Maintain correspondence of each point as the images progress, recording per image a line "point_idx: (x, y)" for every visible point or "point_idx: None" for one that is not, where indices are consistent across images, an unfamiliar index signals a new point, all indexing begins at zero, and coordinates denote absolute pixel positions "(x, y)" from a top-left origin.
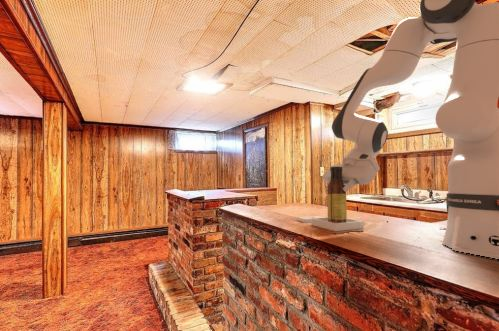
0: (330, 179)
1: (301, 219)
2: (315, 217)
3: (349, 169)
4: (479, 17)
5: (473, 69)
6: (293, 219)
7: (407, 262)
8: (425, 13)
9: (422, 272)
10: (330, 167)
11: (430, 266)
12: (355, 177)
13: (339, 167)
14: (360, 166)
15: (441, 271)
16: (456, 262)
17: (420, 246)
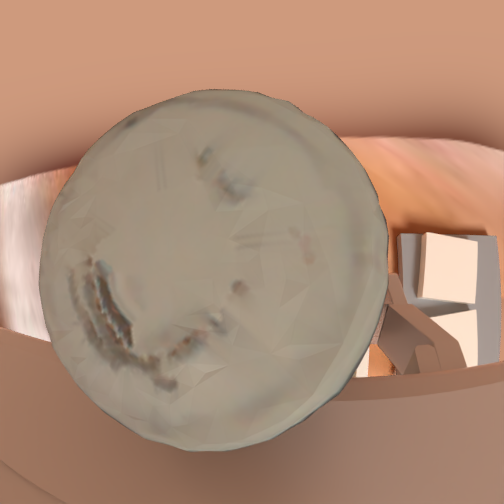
0: (445, 364)
1: (443, 236)
2: (450, 324)
3: None
4: None
5: None
6: (487, 240)
7: (32, 198)
8: None
9: (18, 181)
10: (282, 105)
11: (15, 215)
12: (25, 335)
13: (57, 222)
14: None
15: (7, 209)
16: (3, 275)
17: (50, 340)
